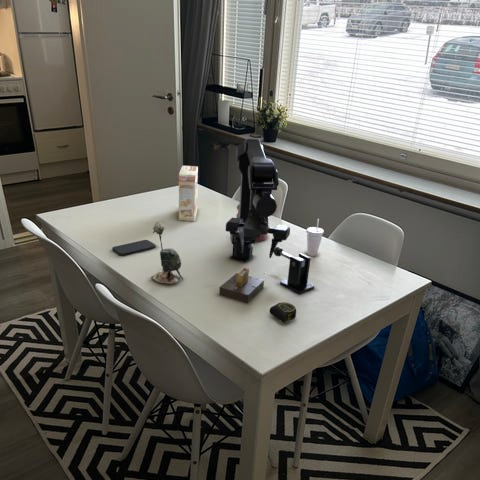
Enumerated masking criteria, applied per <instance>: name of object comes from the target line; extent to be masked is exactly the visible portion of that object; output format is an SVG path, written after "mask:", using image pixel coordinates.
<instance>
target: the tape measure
mask: <svg viewBox="0 0 480 480" xmlns="http://www.w3.org/2000/svg"><path fill="white" fill-rule="evenodd" d="M269 314H270V315H271V316H272V317H274V318H276V319H277V320H278V321H279V322H281V323H283V324H286V323H287V322H291V321H293V320H294V319H295V318H296V316H297V308H296V306H295V305H294V304H292V303H290V302H284V301H283V302H277V303H276V304H274V305H272V306H270V308H269Z"/></svg>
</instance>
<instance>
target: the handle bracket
mask: <svg viewBox="0 0 480 480" xmlns="http://www.w3.org/2000/svg"><path fill="white" fill-rule="evenodd" d="M298 257H302V258H304V259H306V262H305V266H304V267H302V260H300V259H298V258H297V257H296V256H294V255H291V256H290V259H289V265H288V272H287V278H286V279H282V280H280V282H279V285H280V286H282V287H284V288H285V289H288V290H290V291H291V292H293V293H295V294H297V295H299V296H300V295H303V294H306V293H308V292H310V291H313V290H315V285H313V284H311V283H309V282H308V281H309V275H310V267H311V260H312V256H309V255H307V254H305V253H302V252H301V253H298Z"/></svg>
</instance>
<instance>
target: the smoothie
mask: <svg viewBox="0 0 480 480" xmlns="http://www.w3.org/2000/svg"><path fill="white" fill-rule="evenodd" d="M319 223H320V218H317V221H316V226H310V227H307V228H306V231H305V232H306V255H307V256H309V257H317V255H318V252H319V248H320V246H321V242H322V239H323V235H324V234H325V233H324V232H325V230H324V229H323V228H321V227H319Z"/></svg>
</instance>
